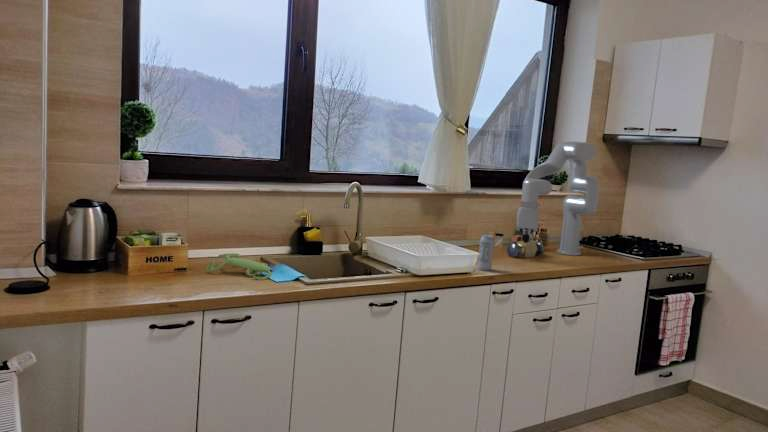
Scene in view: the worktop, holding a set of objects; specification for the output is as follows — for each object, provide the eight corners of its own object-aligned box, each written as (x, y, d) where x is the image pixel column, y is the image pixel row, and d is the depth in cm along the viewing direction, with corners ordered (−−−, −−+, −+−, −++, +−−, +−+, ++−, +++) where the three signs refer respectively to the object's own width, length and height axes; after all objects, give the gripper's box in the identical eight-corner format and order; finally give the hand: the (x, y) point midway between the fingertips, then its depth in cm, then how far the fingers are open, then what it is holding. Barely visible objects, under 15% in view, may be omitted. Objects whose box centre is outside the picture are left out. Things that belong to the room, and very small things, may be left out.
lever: (532, 239, 301) (533, 234, 301) (518, 242, 287) (518, 237, 287) (524, 237, 304) (525, 232, 304) (509, 241, 290) (510, 235, 289)
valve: (533, 253, 311) (534, 237, 310) (543, 256, 305) (545, 239, 304) (506, 255, 299) (507, 238, 298) (516, 258, 294) (518, 241, 292)
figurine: (223, 263, 238) (224, 250, 237) (285, 272, 232) (286, 258, 231) (198, 272, 220) (198, 258, 219) (264, 282, 214) (265, 267, 213)
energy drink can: (493, 270, 262) (497, 236, 261) (485, 271, 258) (488, 237, 257) (483, 267, 267) (486, 234, 265) (474, 268, 263) (477, 235, 261)
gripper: (543, 205, 291) (539, 242, 294) (512, 203, 292) (508, 240, 295) (545, 207, 284) (542, 245, 286) (514, 205, 285) (510, 242, 287)
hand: (525, 242), depth 291 cm, fingers closed
